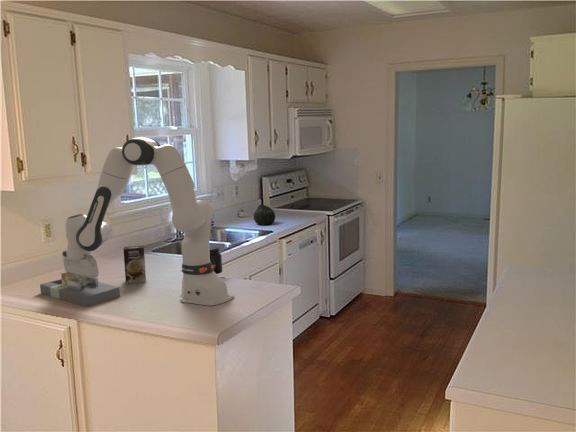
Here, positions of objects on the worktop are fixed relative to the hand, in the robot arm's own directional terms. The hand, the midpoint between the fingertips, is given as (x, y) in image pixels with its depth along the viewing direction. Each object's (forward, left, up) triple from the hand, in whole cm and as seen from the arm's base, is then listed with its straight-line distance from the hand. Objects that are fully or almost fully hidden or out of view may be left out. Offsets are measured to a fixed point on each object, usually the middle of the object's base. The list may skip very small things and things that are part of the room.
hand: (82, 285), depth 226 cm
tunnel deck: (+3, 0, -5) cm, 5 cm away
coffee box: (-1, -26, -5) cm, 26 cm away
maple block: (+9, 0, -1) cm, 9 cm away
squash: (+39, -167, -5) cm, 171 cm away
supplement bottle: (-22, -56, -5) cm, 60 cm away
